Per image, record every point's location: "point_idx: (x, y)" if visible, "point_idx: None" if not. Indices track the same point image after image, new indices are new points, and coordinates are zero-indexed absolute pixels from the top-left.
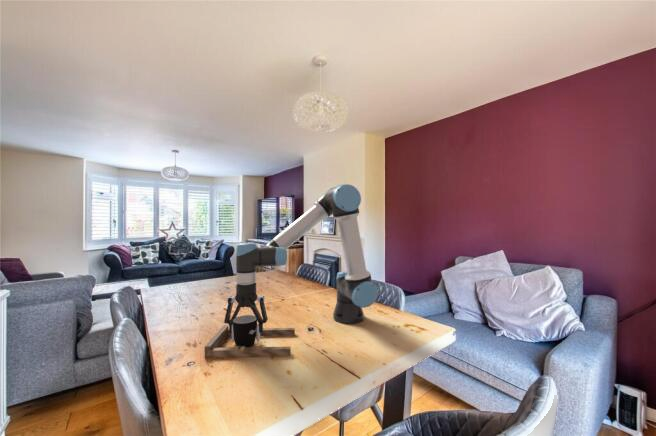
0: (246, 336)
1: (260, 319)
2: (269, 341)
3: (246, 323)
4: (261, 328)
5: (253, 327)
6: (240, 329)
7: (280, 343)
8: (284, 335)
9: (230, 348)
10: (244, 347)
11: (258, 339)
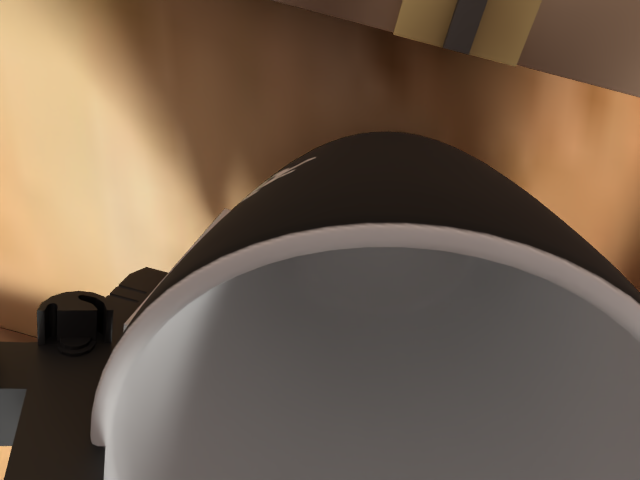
0: (364, 139)
1: (26, 407)
2: (137, 264)
3: (350, 218)
4: (117, 297)
5: (209, 231)
6: (501, 186)
7: (19, 186)
8: (5, 332)
9: (601, 52)
10: (398, 14)
11: (218, 221)
